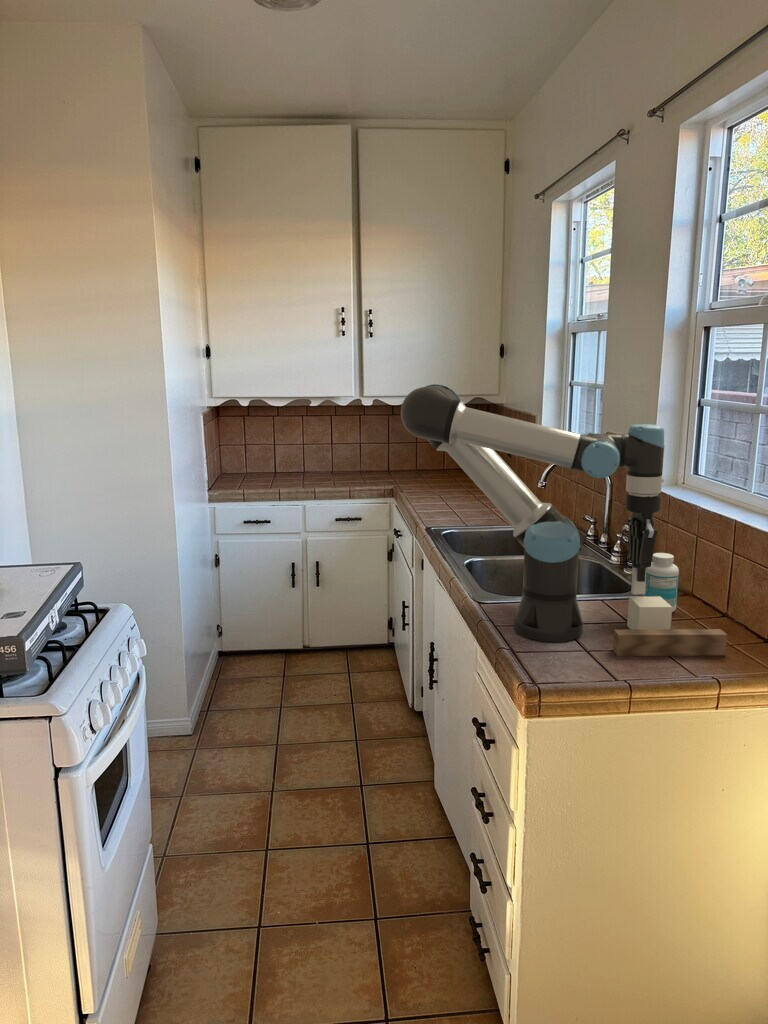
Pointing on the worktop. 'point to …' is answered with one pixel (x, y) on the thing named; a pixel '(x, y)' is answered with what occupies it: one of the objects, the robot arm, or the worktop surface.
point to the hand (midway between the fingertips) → (638, 593)
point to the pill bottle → (662, 579)
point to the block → (649, 613)
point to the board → (669, 642)
